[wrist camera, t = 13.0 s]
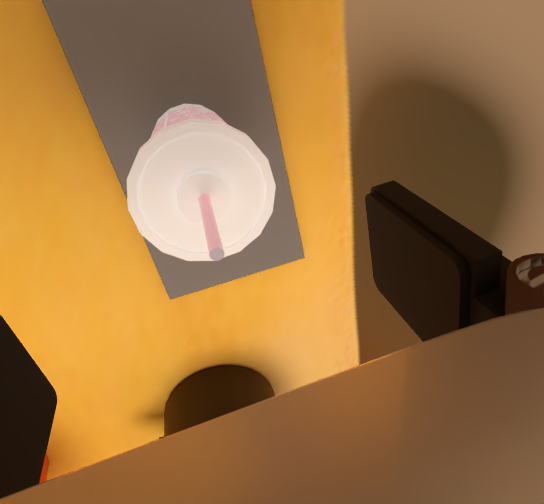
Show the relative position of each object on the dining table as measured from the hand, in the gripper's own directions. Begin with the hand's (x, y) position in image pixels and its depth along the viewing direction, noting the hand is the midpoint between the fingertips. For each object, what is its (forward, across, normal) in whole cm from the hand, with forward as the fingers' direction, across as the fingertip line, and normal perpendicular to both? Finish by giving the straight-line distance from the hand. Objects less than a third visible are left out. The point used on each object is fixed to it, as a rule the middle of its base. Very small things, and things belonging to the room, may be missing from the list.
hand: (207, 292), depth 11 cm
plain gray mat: (+17, -1, +1) cm, 17 cm away
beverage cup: (+17, -1, +1) cm, 17 cm away
